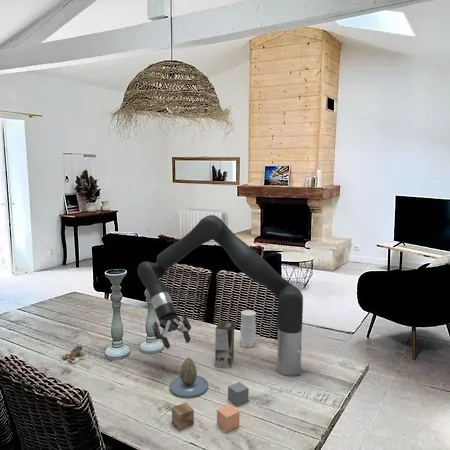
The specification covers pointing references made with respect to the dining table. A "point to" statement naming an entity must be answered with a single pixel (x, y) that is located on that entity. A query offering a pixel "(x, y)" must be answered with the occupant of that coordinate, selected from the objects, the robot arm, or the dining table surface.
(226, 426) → the terracotta block
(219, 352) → the coffee box
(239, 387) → the charcoal block
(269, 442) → the dining table surface
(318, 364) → the dining table surface
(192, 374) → the decorative egg
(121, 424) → the dining table surface
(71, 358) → the frog figurine
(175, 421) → the walnut block
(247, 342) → the candle
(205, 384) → the round blue platter
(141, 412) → the dining table surface
